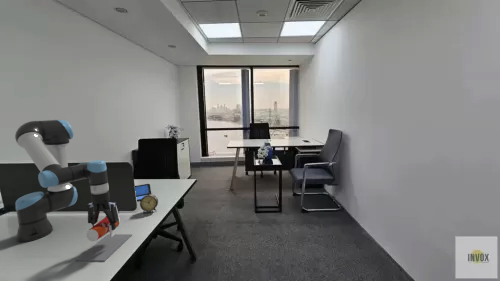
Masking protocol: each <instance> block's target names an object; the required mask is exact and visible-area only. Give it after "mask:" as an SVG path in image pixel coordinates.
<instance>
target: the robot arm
mask: <svg viewBox="0 0 500 281" xmlns="http://www.w3.org/2000/svg"><path fill="white" fill-rule="evenodd" d="M14 138H15V142H16V143H17V144H18V146H19V147H21V148H23V149H24V151H26V153H27V154H28V156H29V158H30V159H31V160H32V162H33V163H34V165H35V166H36V167H37V169H38V170H39V171H40V172H39V173H38V175H37V176H38V177H37V178H38V182H39V185H40V186H41V187H42V188H45V189H47V192H43V191H34V192H31V193H28V194H25V195H23V196H21V197H19V198H17V200H16V201H15V202H14V203H15V211H16V216H17V223H18V229H17V232H16V235H15V238H16V241H17V242H19V243H26V242H31V241H35V240H38V239H42V238H43V237H46V236H47V235H50V234H51V233H52V232H53V231H54V228H53V227H54V226H53V225H52V223H51V222H50V221H49V219H48V215H47V214H49V213H51V212H54V211H55V212H56V211H58V210H62V209H65V208H68V207H71V206H73V205H75V204H76V202H77V200H78V192H77V187H76V186H73V184H71V183H73V182H77V181H82V180H86V179H88V180H89V181H88V182H89V188H90V190H89V191H90V193H91V194H90V198H91V202H90V203H87V204H86V208H87V224H91V226H92V227H93V226H94V225H96V224H97V223H98V222H99V217H100V212H101V211H102V212H103V213H104V214H105V217H106V216H107V218H108V220H109V222H110V224H109V231H110V232H109V234H110V237H113V236H114V235H115V234H116V229H117V228H116V225H115V223H116V222H118V221H119V218H120V217H119V213H118V210H117V202H115V201H114V202H111V201H110V197H111V195H110V191H109V190H110V189H109V188H110V187H109V180H108V178H109V177H108V171H107V169H108V168H107V164H106V163H107V162H106V160H104V159H99V160H98V159H97V160H91V161H89V162H80V163H78V164H77V165H71V166H69V164H68V162H69V161H68V151H67V150H68V149H67V146H68V145H69V144H70V140H73V138H74V130H73V127H72V125H71V124H70V122H69V121H67V120H65V119H64V120H63V119H48V120H47V119H46V120H31V121H27V122H25V123H22V124H21V125H20V126H19V127H18V128H17V130H16V131H15V135H14ZM118 217H119V218H118Z"/></svg>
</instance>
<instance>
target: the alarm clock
mask: <svg viewBox="0 0 500 281" xmlns="http://www.w3.org/2000/svg"><path fill="white" fill-rule="evenodd" d="M146 190H147V189H146ZM149 190H150V189H149ZM150 192H151V194H149V193H148V195H145V196H144V197H143V198H142V199H141V201H139V206H140V209H141V210H142V211H143V212H142V213H145V212H148V213H149V212H152V211H155V212H157V209H156V208H157V206H158V205H159V199H158V197H157V196H156V195H155V194H152V189H151V190H150ZM146 193H147V192H146Z"/></svg>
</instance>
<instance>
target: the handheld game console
mask: <svg viewBox="0 0 500 281" xmlns="http://www.w3.org/2000/svg"><path fill="white" fill-rule="evenodd" d="M134 186H135V191H136V197H137V201H138V202H140V201H141V199H142V198H143V197H144V196H145V195H148V193H149V194H152V188H151V184H149V183H146V184H138V185H134ZM146 189H147V190H146ZM149 189H150V190H151V192H150V190H149ZM146 192H147V193H146Z"/></svg>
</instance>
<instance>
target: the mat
mask: <svg viewBox="0 0 500 281" xmlns="http://www.w3.org/2000/svg"><path fill="white" fill-rule="evenodd" d="M131 237H133V234H131V233H130V234H128V233H127V234H122V233H120V234H118V233H117V234H116V233H115V235H114V236H113V237H110V233H107V234H105V235H104V237H103V238H101V239H100V240H99V241H98V242H96V243H95V244H94V245H92V246H91V247H90V248H89V249H88V250H87V251H85V252H84V253H82V254H81V255H80V256H79V257H77V258H76V259H75V262H106V261H107V260H108V259H109V258H110V257H111V256H112V255H114V253H115V252H116V251H117V250H118V249H120V247H122V246H123V245H124V244H125V243H126V242H127V241H128V240H129V239H130V238H131Z"/></svg>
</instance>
